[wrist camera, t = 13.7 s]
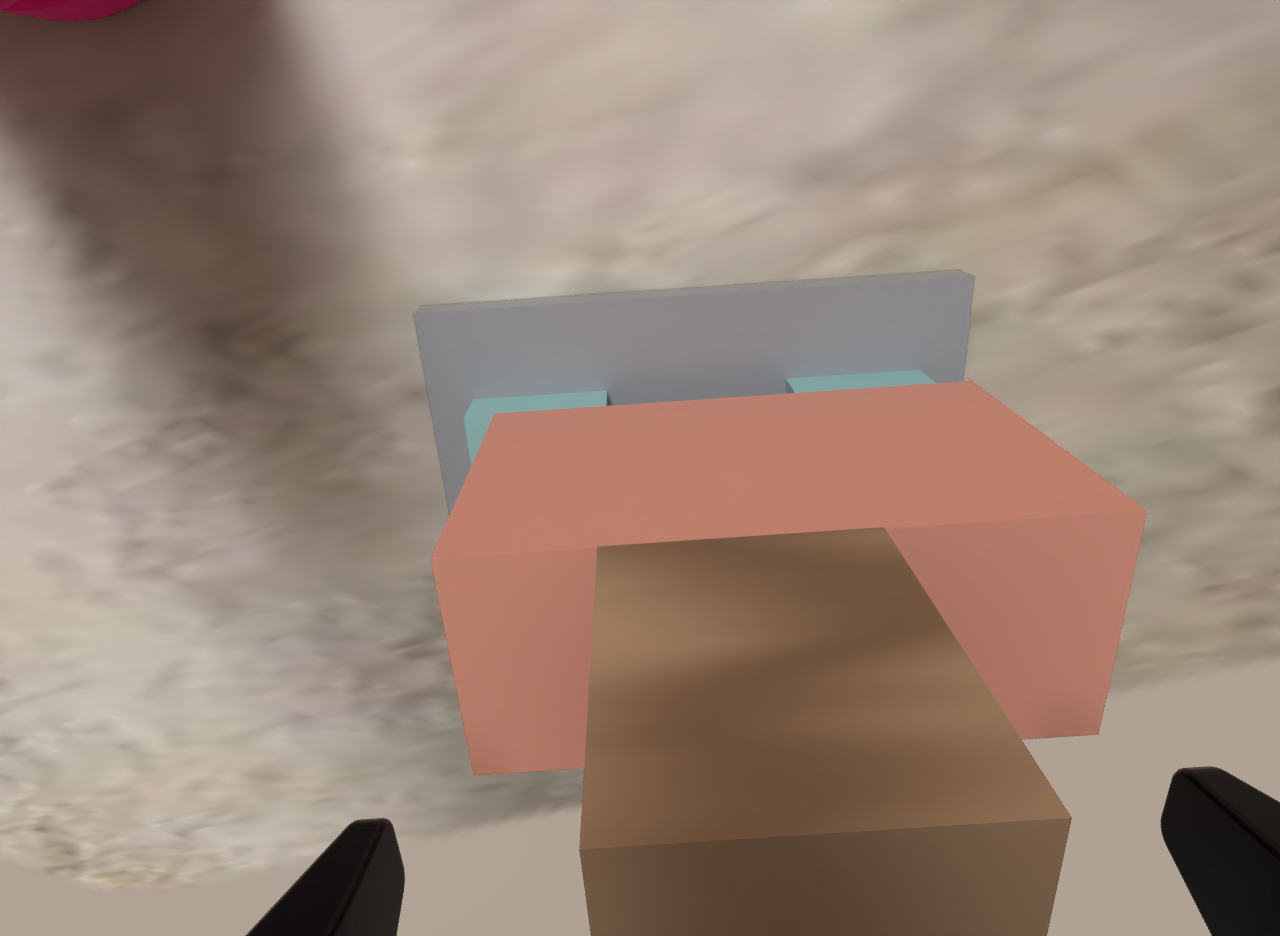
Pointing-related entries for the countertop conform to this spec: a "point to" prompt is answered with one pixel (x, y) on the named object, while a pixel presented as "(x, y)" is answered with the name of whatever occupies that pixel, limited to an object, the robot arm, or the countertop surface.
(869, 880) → the block
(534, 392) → the build plate
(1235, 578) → the countertop surface
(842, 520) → the bar
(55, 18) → the pepper mill
